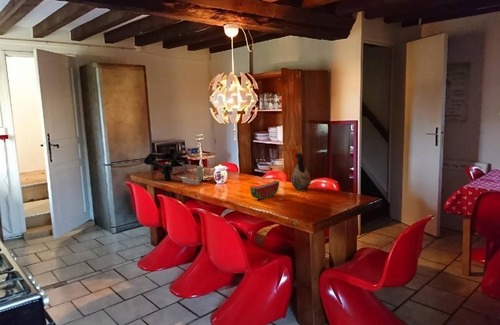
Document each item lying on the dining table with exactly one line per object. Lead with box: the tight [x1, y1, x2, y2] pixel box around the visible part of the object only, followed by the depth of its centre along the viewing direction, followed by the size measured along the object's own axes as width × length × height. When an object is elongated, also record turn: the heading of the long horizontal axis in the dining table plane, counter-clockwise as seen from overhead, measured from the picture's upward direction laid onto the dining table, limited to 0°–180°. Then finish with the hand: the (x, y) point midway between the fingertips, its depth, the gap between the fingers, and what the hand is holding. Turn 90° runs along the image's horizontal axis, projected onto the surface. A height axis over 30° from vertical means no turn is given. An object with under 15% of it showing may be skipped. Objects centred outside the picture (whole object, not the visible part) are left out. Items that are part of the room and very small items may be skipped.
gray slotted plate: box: [196, 165, 204, 182], centre depth 335 cm, size 6×3×13 cm, turn 165°
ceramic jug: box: [290, 152, 312, 192], centre depth 288 cm, size 17×15×30 cm
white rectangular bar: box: [181, 177, 200, 186], centre depth 327 cm, size 18×2×4 cm, turn 55°
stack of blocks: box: [165, 161, 187, 176], centre depth 375 cm, size 21×6×12 cm, turn 143°
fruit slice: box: [249, 180, 280, 200], centre depth 273 cm, size 26×6×10 cm, turn 134°
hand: (186, 164), depth 327 cm, fingers open, 9 cm apart
